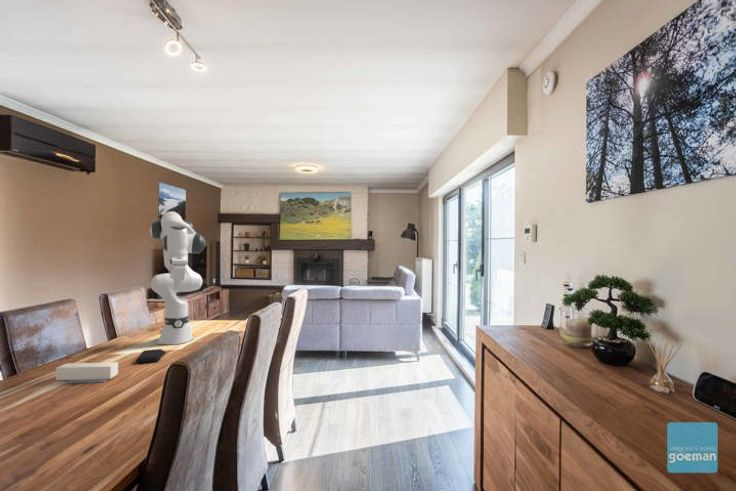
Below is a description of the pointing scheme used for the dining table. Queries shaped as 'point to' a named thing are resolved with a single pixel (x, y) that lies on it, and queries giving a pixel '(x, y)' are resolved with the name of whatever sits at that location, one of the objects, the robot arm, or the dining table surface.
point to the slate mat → (88, 381)
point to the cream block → (86, 371)
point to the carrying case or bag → (150, 356)
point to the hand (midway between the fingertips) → (176, 289)
